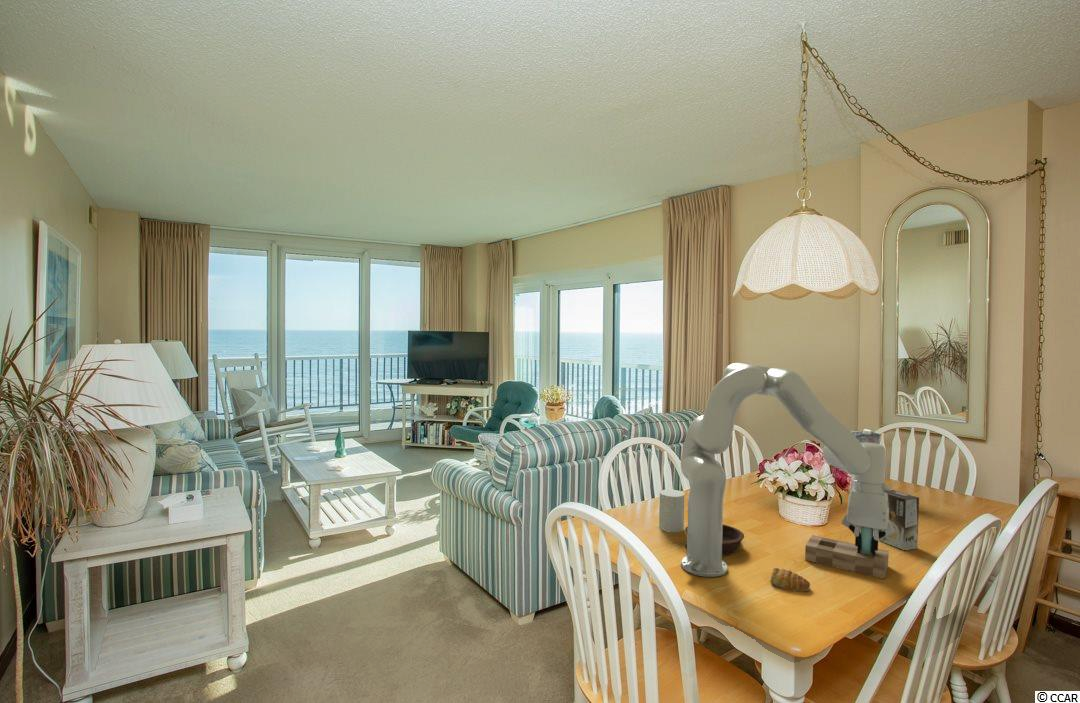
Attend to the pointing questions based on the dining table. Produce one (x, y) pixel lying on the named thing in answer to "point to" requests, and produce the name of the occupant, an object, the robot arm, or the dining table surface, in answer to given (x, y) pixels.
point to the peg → (866, 541)
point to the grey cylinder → (671, 510)
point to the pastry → (789, 580)
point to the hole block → (846, 556)
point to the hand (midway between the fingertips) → (866, 550)
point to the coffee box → (902, 520)
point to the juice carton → (865, 437)
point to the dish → (728, 539)
